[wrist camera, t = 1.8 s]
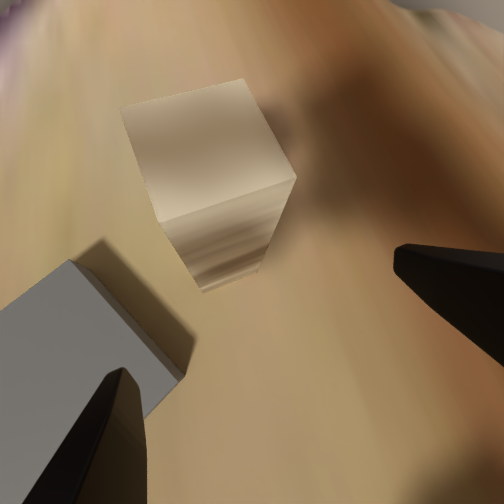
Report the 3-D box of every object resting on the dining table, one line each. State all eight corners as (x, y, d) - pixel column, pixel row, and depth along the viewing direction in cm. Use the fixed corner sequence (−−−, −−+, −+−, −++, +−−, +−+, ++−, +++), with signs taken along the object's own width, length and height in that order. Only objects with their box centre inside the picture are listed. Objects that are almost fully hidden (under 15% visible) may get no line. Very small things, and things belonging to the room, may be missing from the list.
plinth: (185, 376, 18) (178, 382, 16) (40, 528, 15) (4, 565, 12) (88, 268, 20) (69, 259, 17) (-59, 384, 17) (-108, 392, 14)
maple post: (257, 271, 21) (296, 177, 8) (203, 293, 20) (158, 223, 7) (235, 223, 22) (242, 78, 10) (183, 241, 21) (118, 107, 9)
